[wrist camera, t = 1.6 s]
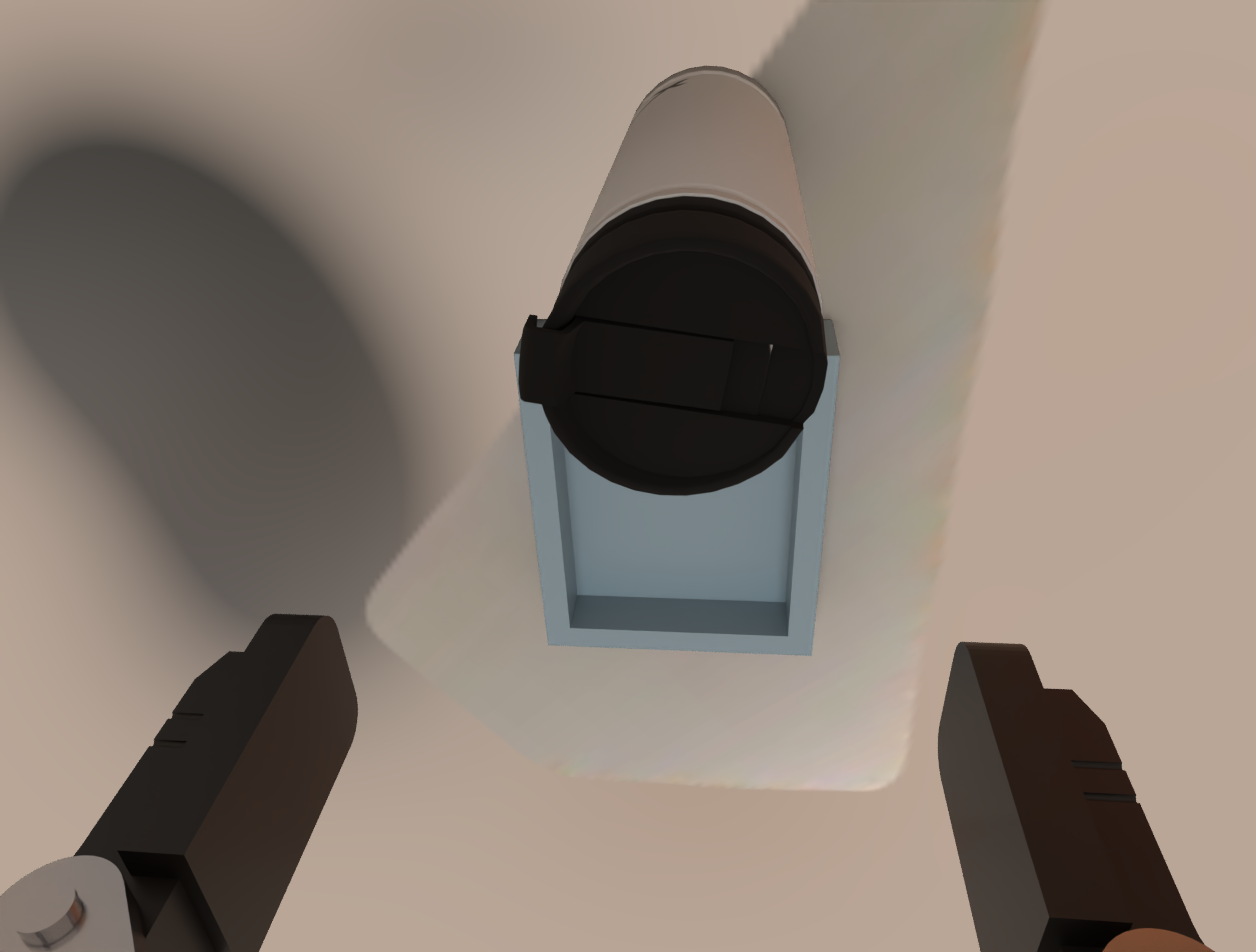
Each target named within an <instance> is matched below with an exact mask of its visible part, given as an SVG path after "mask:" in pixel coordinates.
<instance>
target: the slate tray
mask: <svg viewBox="0 0 1256 952" xmlns="http://www.w3.org/2000/svg"><path fill="white" fill-rule="evenodd" d="M546 320H547V319H537V327H541V328H542V327H543V325H544V323H545V322H546ZM823 321H824V330H825V340H826V349H827V359H828V367H827V372H826V378H825V384H824V389H823V392H822V394H821V397H820V399H819V402H818V404H817V407H816V409H815V412H814V413H813V414H812V415H811V416H810V417H809V418H808V419H807V420H806V421H805V422H804V423H803V427H804V429H803V430H802V432H801V433H800V434H799V436H798V437H797V439H796V440H795V441H794V443H793V444H792V445H791V447H790V448H789V450H788V451H787V452H786V454H785V455H784V456H783V457H782V458H781V459H780V460H778V461H777V462H776V463H774V464H773V465H771V466H770V467H769V468H767V469H766V470H765V471H763V472H762V473H760V474H758V475H756V476H754V477H752V478H750V479H748V480H746V481H744V482H742V483H740V484H737V485H734V486H731V487H728V488H724V489H721V490H718V491H715V492H710V493H703V494H696V495H689V496H671V495H656V494H651V493H645V492H640V491H635V490H632V489H629V488H626V487H623V486H621V485H618V484H615V483H612V482H610V481H608V480H607V479H605V478H603V477H601V476H600V475H598V474H596V473H594V472H593V471H591V470H589V469H588V468H587V467H586V466H584V465H583V464H582V463H581V462H580V461H579V460H577V459H576V458H575V457H574V456H573V455H572V454H570V453H569V451H568V450H567V449H566V447H565V446H564V445H563V444H562V442H561V441H560V440H559V439H558V437H557V436H556V435H555V434H554V432H553V430H552V428H551V426H550V424H549V422H548V420H547V418H546V416H545V413H544V410H543V407H542V404H536V403H530V402H524V401H523V400H521V399H520V393H519V385H518V377H519V357H520V348H521V339H522V337H521V339H520V341H519V344H518V346H517V348H516V350H515V352H514V360H515V368H516V376H517V385H518V394H519V402H520V411H521V419H522V428H523V436H524V445H525V453H526V462H527V470H528V479H529V487H530V496H531V504H532V513H533V521H534V530H535V538H536V547H537V555H538V564H539V572H540V581H541V589H542V598H543V606H544V615H545V623H546V632H547V640H548V645H555V646H580V647H605V648H630V649H655V650H679V651H704V652H729V653H754V654H778V655H803V656H812V647H813V637H814V626H815V615H816V605H817V594H818V584H819V573H820V562H821V552H822V541H823V530H824V520H825V509H826V499H827V488H828V477H829V467H830V456H831V445H832V435H833V424H834V414H835V403H836V392H837V382H838V371H839V361H840V354H839V349H838V345H837V340H836V335H835V331H834V326H833V322H832V320H823Z"/></svg>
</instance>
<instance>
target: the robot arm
mask: <svg viewBox="0 0 1256 952" xmlns="http://www.w3.org/2000/svg"><path fill="white" fill-rule="evenodd" d="M172 713H173V716H172V718H171V719H168V720H167V721H166V722H165V724H164V725H163V727H162V728H161V730H160V731H159V733H158V734H157V736H156V737H155V739H154V745H153V746H149V747H148V749H147V750H146V752H145V753H144V755H143V756H142V758H141V759H140V760H139V762H138V763H137V765H136V766H135V768H134V769H133V771H132V772H131V774H130V775H129V777H128V778H127V780H126V781H125V783H124V784H123V786H122V787H121V788H120V790H119V791H118V793H117V794H116V796H115V797H114V799H113V800H112V802H111V803H110V804H109V806H108V807H107V809H106V810H105V812H104V813H103V815H102V816H101V818H100V819H99V821H98V822H97V824H96V825H95V827H94V828H93V829H92V831H91V832H90V834H89V836H88V837H87V838H86V840H85V841H84V843H83V844H82V846H81V847H80V848H79V850H78V851H77V852H76V853H75V855H74V856H73V857H68V858H64V859H60V860H57V861H54V862H52V863H49V864H46V865H44V866H42V867H40V868H39V869H36V870H34V871H33V872H31V873H29V874H28V875H26V876H25V877H23V878H21V879H20V880H19V881H17V882H16V883H15V884H14V885H12V886H11V887H10V888H9V889H7V890H6V891H5V892H4V893H3V894H2V895H1V896H0V952H259V950H260V948H261V945H262V943H263V941H264V939H265V936H266V934H267V932H268V930H269V928H270V925H271V923H272V921H273V918H274V916H275V914H276V912H277V910H278V908H279V905H280V903H281V901H282V899H283V896H284V894H285V892H286V889H287V887H288V885H289V883H290V881H291V878H292V876H293V874H294V872H295V870H296V867H297V865H298V863H299V861H300V858H301V856H302V854H303V852H304V849H305V847H306V845H307V843H308V841H309V838H310V836H311V834H312V831H313V829H314V827H315V825H316V823H317V820H318V818H319V816H320V813H321V811H322V809H323V807H324V805H325V803H326V800H327V798H328V796H329V794H330V791H331V789H332V787H333V785H334V782H335V780H336V778H337V775H338V773H339V771H340V769H341V767H342V764H343V762H344V760H345V758H346V755H347V753H348V751H349V749H350V747H351V744H352V742H353V738H354V735H355V731H356V724H357V716H358V704H357V697H356V692H355V689H354V685H353V682H352V679H351V675H350V671H349V668H348V664H347V661H346V657H345V654H344V650H343V646H342V643H341V639H340V636H339V632H338V628H337V626H336V623H335V621H334V620H333V619H332V618H331V617H330V616H322V615H296V614H295V615H294V614H272V615H270V616H269V617H268V618H266V619H265V621H264V622H263V623H262V625H261V626H260V628H259V629H258V631H257V633H256V634H255V636H254V637H253V639H252V641H251V642H250V643H249V645H248V647H247V648H246V650H245V651H244V652H231V651H229V652H228V653H227V654H225V655H224V656H223V657H222V658H220V659H219V660H218V661H217V662H216V663H214V664H213V665H212V666H211V667H209V668H208V669H207V670H206V671H204V672H203V673H202V674H201V675H200V676H199V677H197V678H196V679H195V680H194V681H193V683H192V684H191V686H190V687H189V689H188V690H187V692H186V693H185V694H184V696H183V697H182V699H181V700H180V702H179V703H178V705H177V706H176V708H175V709H174V711H173V712H172ZM938 759H939V769H940V775H941V781H942V785H943V789H944V794H945V798H946V802H947V807H948V811H949V816H950V820H951V824H952V829H953V833H954V837H955V842H956V846H957V850H958V855H959V859H960V864H961V868H962V872H963V877H964V881H965V885H966V890H967V894H968V898H969V902H970V907H971V911H972V916H973V920H974V925H975V929H976V933H977V938H978V942H979V946H980V951H981V952H1215V951H1213V950H1212V949H1210V948H1209V947H1207V946H1206V945H1204V943H1203V942H1202V940H1201V939H1200V937H1199V935H1198V933H1197V931H1196V929H1195V927H1194V926H1193V923H1192V921H1191V919H1190V917H1189V914H1188V912H1187V910H1186V908H1185V905H1184V903H1183V901H1182V899H1181V896H1180V894H1179V892H1178V889H1177V887H1176V885H1175V883H1174V880H1173V878H1172V876H1171V873H1170V871H1169V869H1168V866H1167V864H1166V862H1165V860H1164V858H1163V855H1162V853H1161V851H1160V848H1159V846H1158V844H1157V841H1156V839H1155V837H1154V835H1153V832H1152V830H1151V828H1150V826H1149V823H1148V821H1147V819H1146V816H1145V814H1144V812H1143V810H1142V807H1141V805H1140V803H1137V802H1136V794H1135V791H1134V789H1133V787H1132V785H1131V782H1130V780H1129V778H1128V775H1127V773H1126V771H1124V770H1122V762H1121V759H1120V757H1119V755H1118V753H1117V750H1116V748H1115V746H1114V744H1113V741H1112V739H1111V737H1110V735H1109V732H1108V730H1107V728H1106V725H1105V724H1104V723H1103V721H1101V719H1100V718H1099V717H1098V716H1097V715H1096V714H1095V713H1094V712H1093V711H1092V710H1091V709H1090V708H1089V707H1088V706H1087V705H1086V704H1085V703H1084V702H1083V701H1082V700H1081V699H1080V698H1079V697H1078V695H1077V694H1076V693H1075V692H1074V691H1073V690H1067V689H1044V688H1043V686H1042V683H1041V681H1040V678H1039V675H1038V673H1037V670H1036V668H1035V665H1034V662H1033V660H1032V657H1031V655H1030V652H1029V651H1028V649H1027V647H1026V646H1024V645H1022V644H1003V643H978V642H977V643H976V642H960V643H959V644H958V645H957V647H956V650H955V654H954V658H953V663H952V668H951V672H950V677H949V682H948V687H947V692H946V696H945V701H944V706H943V711H942V716H941V721H940V726H939V733H938Z"/></svg>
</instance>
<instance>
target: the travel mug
mask: <svg viewBox="0 0 1256 952" xmlns="http://www.w3.org/2000/svg"><path fill="white" fill-rule="evenodd" d="M827 367H828V359H827V349H826V340H825V330H824V321H823V313H822V298H821V293H820V289H819V283H818V278H817V273H816V268H815V264H814V259H813V254H812V249H811V244H810V239H809V234H808V229H807V225H806V220H805V215H804V210H803V205H802V200H801V195H800V190H799V186H798V181H797V176H796V171H795V166H794V161H793V156H792V152H791V147H790V142H789V137H788V132H787V129H786V125H785V121H784V118H783V116H782V114H781V112H780V110H779V108H778V106H777V104H776V102H775V101H774V99H773V98H772V97H771V96H770V94H769V93H768V92H767V91H766V89H764V88H763V87H762V86H761V85H760V84H758V83H757V82H756V81H755V80H754V79H752V78H750V77H748V76H746V75H744V74H743V73H741V72H739V71H735V70H732V69H728V68H725V67H717V66H702V67H695V68H689V69H686V70H683V71H681V72H678V73H676V74H673V75H671V76H670V77H668V78H667V79H665V80H664V81H662V82H660V83H659V84H658V85H657V86H656V87H655V88H654V89H653V90H652V91H651V92H650V93H649V94H647V96H646V97H645V98H644V100H643V102H642V103H641V104H640V106H639V107H638V109H637V110H636V113H635V115H634V117H633V120H632V122H631V124H630V126H629V129H628V131H627V133H626V136H625V138H624V140H623V142H622V145H621V147H620V149H619V152H618V154H617V156H616V158H615V161H614V163H613V166H612V168H611V170H610V173H609V174H608V177H607V179H606V181H605V184H604V186H603V188H602V191H601V193H600V195H599V198H598V200H597V202H596V204H595V207H594V209H593V211H592V213H591V216H590V218H589V220H588V223H587V225H586V227H585V230H584V232H583V234H582V236H581V239H580V241H579V243H578V245H577V248H576V250H575V253H574V255H573V257H572V259H571V262H570V264H569V266H568V268H567V271H566V273H565V275H564V278H563V280H562V284H561V289H560V293H559V296H558V298H557V300H556V302H555V305H554V308H553V310H552V312H551V314H550V315H549V317H548V319H547V320H546V322H545V323H544V325H543V327H542V328H541V327H537V316H536V315H529V317H528V319H527V322H526V324H525V326H524V328H523V334H522V339H521V348H520V357H519V377H518V385H519V393H520V399H521V400H523V401H524V402H530V403H536V404H542V407H543V410H544V413H545V416H546V418H547V420H548V422H549V424H550V426H551V428H552V430H553V432H554V434H555V435H556V436H557V437H558V439H559V440H560V441H561V442H562V444H563V445H564V446H565V447H566V449H567V450H568V451H569V453H570V454H572V455H573V456H574V457H575V458H576V459H577V460H579V461H580V462H581V463H582V464H583V465H584V466H586V467H587V468H588V469H589V470H591V471H593V472H594V473H596V474H598V475H600V476H601V477H603V478H605V479H607V480H608V481H610V482H612V483H615V484H618V485H621V486H623V487H626V488H629V489H632V490H635V491H640V492H645V493H651V494H656V495H671V496H689V495H696V494H703V493H710V492H715V491H718V490H721V489H724V488H728V487H731V486H734V485H737V484H740V483H742V482H744V481H746V480H748V479H750V478H752V477H754V476H756V475H758V474H760V473H762V472H763V471H765V470H766V469H767V468H769V467H770V466H771V465H773V464H774V463H776V462H777V461H778V460H780V459H781V458H782V457H783V456H784V455H785V454H786V452H787V451H788V450H789V448H790V447H791V445H792V444H793V443H794V441H795V440H796V439H797V437H798V436H799V434H800V433H801V432H802V430H803V429H804V427H803V423H804V422H805V421H806V420H807V419H808V418H809V417H810V416H811V415H812V414H813V413H814V412H815V409H816V407H817V404H818V402H819V399H820V397H821V394H822V392H823V389H824V384H825V378H826V372H827Z"/></svg>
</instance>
